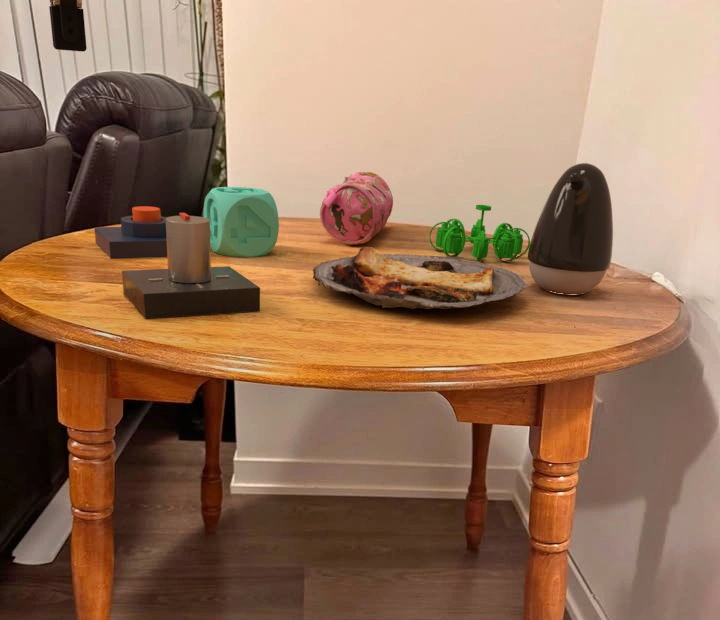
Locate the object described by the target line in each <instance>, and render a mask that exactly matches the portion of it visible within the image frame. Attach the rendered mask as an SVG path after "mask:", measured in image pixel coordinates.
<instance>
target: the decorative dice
mask: <svg viewBox="0 0 720 620" xmlns="http://www.w3.org/2000/svg"><path fill="white" fill-rule="evenodd" d="M202 215H203V216H202V217H204V218H207V219H209V220H210V251H211V252H213V253H215V254H217V255H221V256H224V257H233V258H258V257H263V256H267V255H268V254H269V253H270V252H271V251H272V250H273V249H274V248H275V247H276V244H277V241H278V237H279V229H280V224H279V223H280V222H279V220H280V219H279V212H278V207H277V203H276V201H275V199H274V196H273V195H272V193H270V191H269V190H266V189H263V188H256V187H247V186H246V187H245V186H243V187H242V186H220V187H219V186H218V187H213V188H212V189H211V190H210V191H209V192H208V193H207V194H206V196H205V199H204V203H203V214H202Z"/></svg>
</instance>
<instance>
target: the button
mask: <svg viewBox="0 0 720 620" xmlns="http://www.w3.org/2000/svg"><path fill="white" fill-rule="evenodd" d="M131 211H132V216H133V221H138V222H159V221H161V216H162V215H161V214H162V213H161V208H160V207H156V206H147V205H144V206H143V205H142V206H141V205H140V206H138V205H137V206H133V207H132V208H131Z"/></svg>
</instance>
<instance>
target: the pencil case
mask: <svg viewBox="0 0 720 620" xmlns="http://www.w3.org/2000/svg"><path fill="white" fill-rule="evenodd" d="M393 206H394V197H393V194H392V191H391V189H390V186H389V185H388V183H387V182H386V181H385V180H384V179H383V178H382V177H381V176H380V175H379V174H377V173H374V172H371V171H357V172H355V173H352V174H350V175H349V176H344V180H343V183H340V184H336V185H334V186H333V187H331V188H329V189H328V190H327V191H326V195H325V196H324V198H323V200H322V202H321V205H320V210H319V219H320V222H321V225H322V227H323V229H324V230H325V231H326V233H327V234H328V235H329V236H331V237H332V238H333V239H334V240H336V241H337V242H339V243H341V244H344V245H350V246H352V245H354V246H355V245H356V246H357V245H362V244H365V243H367V242H369V241H370V240H371V239H373V237H375V236H377V235H378V233H379V232H381V231H382V230H383V228H384V227H385V226H386V225H387V222H388V220H389V218H390V216H391V215H392V211H393Z"/></svg>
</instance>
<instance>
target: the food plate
mask: <svg viewBox="0 0 720 620" xmlns="http://www.w3.org/2000/svg"><path fill="white" fill-rule="evenodd" d="M312 274H313V276H312V279H314V281H316V282H317V283H318V285H317V286H318V287H319V286H321V285H322V287H323V288H325V287H326V286H330V289H331V291H334V292H345V293H348V294H349V295H351V294H353V295H354V296H356V297H357V298H360V299H362V300H364V301H365V302H367V303H370V304H373V305H376V306H381V309H383V308H385V309H386V308H388V309H389V308H390V309H391V308H392V309H394V308H407V309H410V310H411V309H412V310H414V309H424V310H425V309H426V310H430V309H440V310H450V309H454V310H455V309H460V308H462V309H464V308H469V307H473V306H478V305H481V304H484V303H488V302H492V301H499V300H502V301H505V300H506V298H510V297H515V296H516V295H517V294H519V293H520V292H522V291H524V289H526V287H527V286H528V285H529V283H528V282H526V280H524V277H523V276H521V275H519V274H518V273H516V272H514V271H512V270H508V269H506V268H502V267H498V266H494V265H489V264H486V263H485V262H482V261H481V262H479V261H477V260H475V259H470V258H464V257H458V256H456V257H449V256H444V255H443V256H440V255H432V256H428V255H420V254H410V253H409V254H404V253H402V254H401V253H400V254H399V253H398V254H397V253H394V254H393V253H388V254H386V253H385V254H379V252H378V250H377V249H375V248H374V247H371V246H362V247H360V249H359V250H358V253H357V254H355V255H354V256H346V257H345V256H343V257H339V258H336V259H332V260H328V261H327V260H326V261H324V262H323V261H322V262H320V263H319V264H317V265H316V266H314V267H313V268H312ZM320 283H321V285H320Z"/></svg>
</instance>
